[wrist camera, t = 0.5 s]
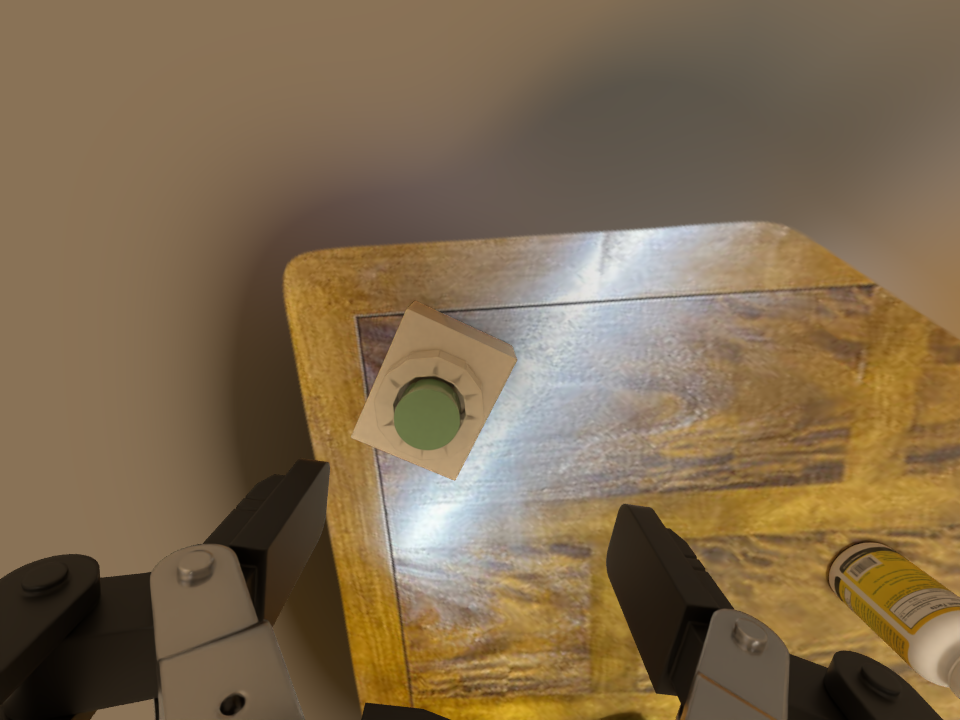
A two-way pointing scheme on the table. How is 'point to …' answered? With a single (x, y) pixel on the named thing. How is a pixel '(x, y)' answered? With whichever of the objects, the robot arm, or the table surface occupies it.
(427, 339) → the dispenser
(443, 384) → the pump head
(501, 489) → the table surface
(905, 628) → the pill bottle
